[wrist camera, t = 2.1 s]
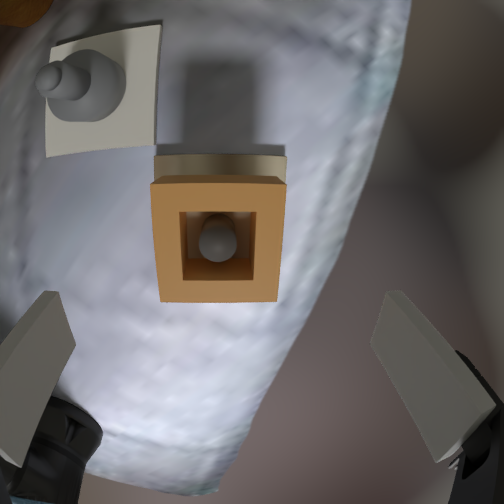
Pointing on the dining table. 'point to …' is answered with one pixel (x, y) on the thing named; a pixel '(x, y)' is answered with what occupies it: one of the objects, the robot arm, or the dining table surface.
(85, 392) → the dining table surface
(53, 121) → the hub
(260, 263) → the ring
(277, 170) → the stand
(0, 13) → the disposable coffee cup
